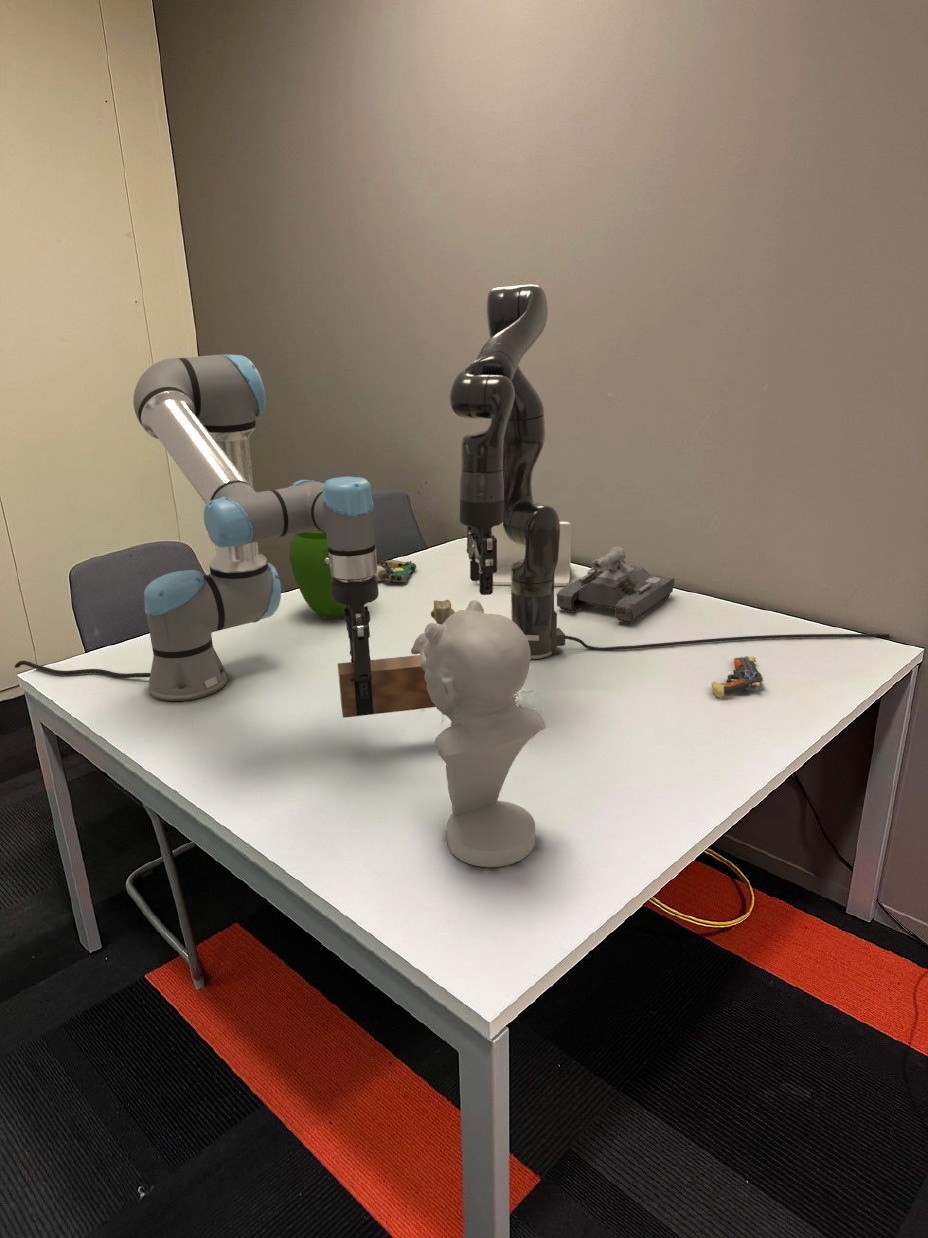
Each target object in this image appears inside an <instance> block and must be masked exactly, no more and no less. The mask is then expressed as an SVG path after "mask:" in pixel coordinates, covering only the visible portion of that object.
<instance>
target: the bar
mask: <svg viewBox="0 0 928 1238" xmlns="http://www.w3.org/2000/svg"><path fill="white" fill-rule="evenodd" d="M370 665H371V675H372V680H371V685H372V699H373V713H374V714H368V715H367V716H370V715H379V714H389V713H396V712H397V713H398V712H405V711H414V710H423V709H431V708H432V709H433V708H436V706H435V704H434V703H433V702H432V701H431V698H430V695H429V693H428V691H427V683H426V681H425V671H424V670H423V669H422V667H421V654H414V655H408V656H406V655H405V656H397V657H388V658H387V657H386V658H377V659H371V660H370ZM337 672H338V673H337V674H338V684H339V696H340V707H341V713H342V718H343V719H346V718H354V717H363V716H364V715H359V716H357V708H356V695H355V683H354V681H353V682H351V677H354V676H355V669H354V662H351V661H349V662H347V661H346V662H339V663H337Z"/></svg>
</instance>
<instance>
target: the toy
mask: <svg viewBox="0 0 928 1238" xmlns="http://www.w3.org/2000/svg"><path fill="white" fill-rule="evenodd" d="M626 557H627V556H626V551H625V549H624V548H622V547H621V546H614V547H612V548H611V549H610V550H609V552H608V553H607V554H605V555H604V556H601V557H599V558H598V559H597V557H596V558H594V559H593V560H592V561H590V562H589V563H590V564H591V565H592V567H591V568H590V569H589V570H587V573H586V575H584V576H582V577H580V578H578V579H577V580H575V581H573V582H570V583H569V585H567V586H563V587H562V588H560V589H559V590H558V591H557V592H556V607H558V608H559V609H560V610H562V611H566V612H572V613H575V612H577V611H579V610H581V609H582V608H585V607H586V606H588V605H592V606H598V607H602V608H603V607H604V608H609V609H613V610H614V618H615V619H617V620H618V621H621V622H626V623H631V624H634V623H635V622H637V621H638V620H640V619H641V618H642V617H644V616H645V615H647V614H648V613H650V612H651V611H652V610H654V609H655V608H657V607H659V606H660V605H661V604H663V603H664V602H666V601H667V600H669V598H670V596H671V594H672V593H673V591H674V585H675V580H676V579H675V578H673V577H668V576H663V575H656V576H655V577H654V576H651V574H650V573H649V572H648V571H647V570H646V568H644V567H641V566H635V565H629V564H628V563H627V562H626V561H625V559H626Z"/></svg>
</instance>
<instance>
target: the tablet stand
mask: <svg viewBox="0 0 928 1238" xmlns="http://www.w3.org/2000/svg"><path fill="white" fill-rule="evenodd" d="M491 531H492V535H494V537H495V538H496V539H497V573H494V574H493V586H511V567H512V564H513V563H515V562H516V561H519V560H522V559H525V548H526V546H524V545H521V544H518V543H515V542H513V541H511V540H509V539H508V537H507V536H506V534H505V532H504V528H503V523H502V524H501V525H498V526H494V527H492V529H491ZM571 560H572V558H571V522H569V521H560V539H559V555H558V562H557V566H556V568H555V572H554V587H556V586H557V587H566V586H567V585H569V584H570V580H571V579H570V578H571V565H572V564H571ZM485 566H490V563H489V562H485ZM476 584H478V585H480V581H476Z"/></svg>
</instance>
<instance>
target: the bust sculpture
mask: <svg viewBox="0 0 928 1238" xmlns="http://www.w3.org/2000/svg"><path fill="white" fill-rule="evenodd" d="M454 612H455V613H453V614H452V615H451V616H450V617H448V618H447V619H446V620H445V622H444V623H443V624H436V623H435V622H430V623H428V624H427V625H426V626H425V628H424V632H423V633H421V634H419V635H418V636H417V637H416V638H415V640H414V642H413V645H412V647H411V649H410V654H412V655H421V667H422V669H423V670H424V671H425V681H426V683H427V691H428V693H429V695H430V698H431V701H432V702H433V703H434V704H435V706H436V707H435V708H436V710H438V711H439V712H440V713H441V714H442V716H446V717H447V718H448V719H449V720H450V726H448V727H446V728H445V729H443V730H442V731H441V732H440V733H439V734H438V735H436V738H435V741H434V748H435V749H436V752H437V753H438V755H439V757H440V758H441V760H442V761H443V762H444V763H445V771H446V781H447V790H448V796H449V800H450V803H451V810H452V813H451V814H450V815H449V817H448V819H447V822H446V844H447V847H448V849H449V851H450V852H451V854H452V855H453V856H454V857H456V858H457V859H459V860H460V861H462V862H463V863H466V864H469V865H471V866H476V867H483V868H498V867H505V866H509V865H512V864H517V862H520V861H521V860H523V859H525V858H527V856H528V855H530V854H531V852H532V851H533V849H535V848H534V847H535V845H536V822H535V821H536V820H535V819H534V817H533V816H532V814H531V813H530V812H529V811H528V810H526V809H525V808H524V807H522V806H520V805H517V804H515V803H513V802H509V801H504V800H499V796H500V793H501V790H502V788H503V785H504V783H505V780H506V778H507V776H508V773H509V771H510V769H511V768H512V765H513V763H514V761H515V760H516V759H517V756H518V755H519V753H520V752H521V750H522V749H523V748H524V747H525V745H526V744H527V743H528V742H529V741H530V740H531V739H532V738H533V737H535V735H537V734H538V733H539V732H541V731H544V730H545V729H546V728H547V725H546V723H545V720H544V718H543V717H542V714H541V713H540V712H539V711H538V710H537V709H535V708H533V707H530V706H518V705H517V701H516V699H517V698H516V696H515V695H516V694H517V693H519V691H521V689H522V688H523V686H524V684H525V683H526V680H527V678H528V675H529V669H530V666H531V659H530V656H531V655H530V653H531V652H530V646H529V643H528V640H527V638H526V636H525V634H524V633H523V632H522V630H521V629H520V628H519V627H518V626H517V625H516V624H515V623H514V622H513V621H512V620H511V618H508V617H507V616H504V615H503V614H502V615H501V614H496V613H485V609H484V607H483V605H482V603H481V602H480V601H478V600H473V599H472V600H470V601H469V603H468V605H467V607H466V609H460V610H457V611H454Z"/></svg>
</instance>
